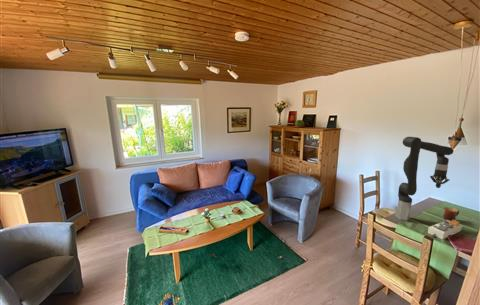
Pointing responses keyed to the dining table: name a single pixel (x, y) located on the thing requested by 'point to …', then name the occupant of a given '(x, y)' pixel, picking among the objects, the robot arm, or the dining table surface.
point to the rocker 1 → (442, 227)
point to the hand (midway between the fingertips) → (437, 187)
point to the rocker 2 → (454, 223)
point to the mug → (450, 213)
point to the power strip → (443, 234)
